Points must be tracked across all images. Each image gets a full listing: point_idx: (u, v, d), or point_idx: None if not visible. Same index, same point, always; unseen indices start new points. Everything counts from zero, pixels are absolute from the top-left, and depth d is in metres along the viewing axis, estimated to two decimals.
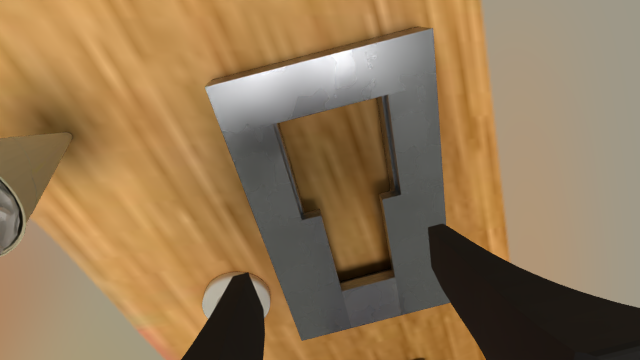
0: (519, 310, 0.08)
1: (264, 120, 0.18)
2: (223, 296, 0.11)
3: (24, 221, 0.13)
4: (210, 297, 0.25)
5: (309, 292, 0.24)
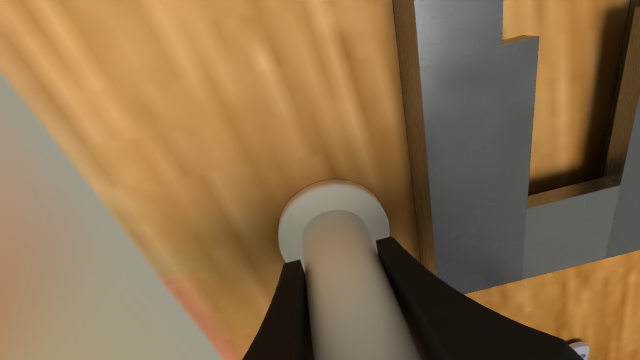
0: (434, 331, 0.08)
1: None
2: (281, 281, 0.11)
3: None
4: (294, 221, 0.14)
5: (474, 208, 0.14)
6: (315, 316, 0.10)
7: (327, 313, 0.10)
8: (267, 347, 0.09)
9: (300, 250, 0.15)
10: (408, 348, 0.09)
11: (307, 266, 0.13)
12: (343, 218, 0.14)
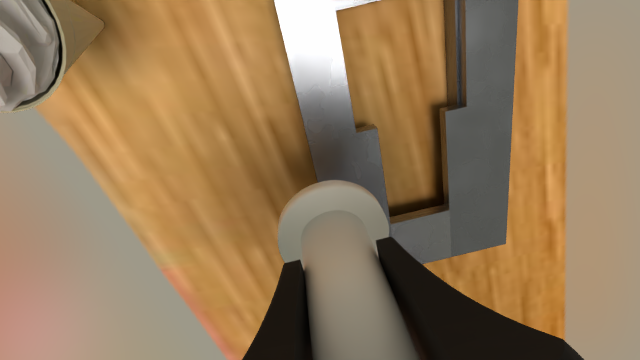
0: (434, 331, 0.08)
1: (325, 2, 0.16)
2: (281, 281, 0.11)
3: (64, 57, 0.11)
4: (294, 221, 0.14)
5: None
6: (315, 316, 0.10)
7: (327, 314, 0.10)
8: (267, 347, 0.09)
9: (299, 250, 0.15)
10: (408, 350, 0.09)
11: (307, 266, 0.13)
12: (343, 219, 0.14)
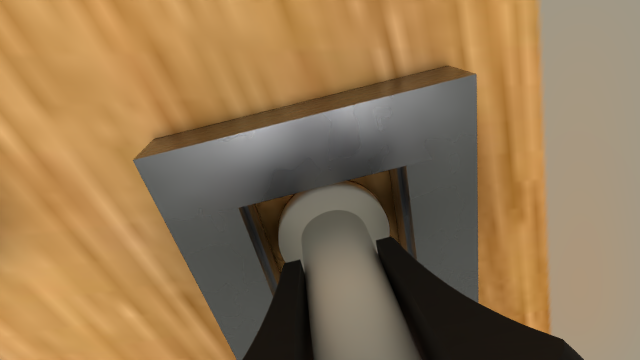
0: (434, 332, 0.08)
1: (225, 203, 0.13)
2: (281, 281, 0.11)
3: None
4: (295, 220, 0.14)
5: None
6: (316, 315, 0.10)
7: (329, 313, 0.10)
8: (267, 347, 0.09)
9: (299, 249, 0.15)
10: (410, 350, 0.09)
11: (308, 265, 0.13)
12: (344, 219, 0.14)
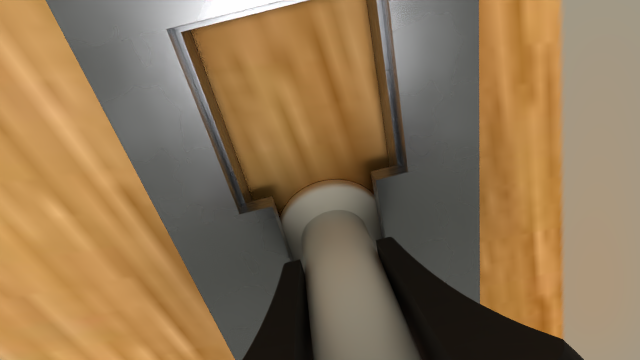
0: (434, 332, 0.08)
1: (149, 20, 0.10)
2: (281, 281, 0.11)
3: None
4: (295, 219, 0.14)
5: None
6: (316, 315, 0.10)
7: (328, 312, 0.10)
8: (267, 347, 0.09)
9: (299, 249, 0.15)
10: (410, 349, 0.09)
11: (307, 265, 0.13)
12: (344, 218, 0.14)
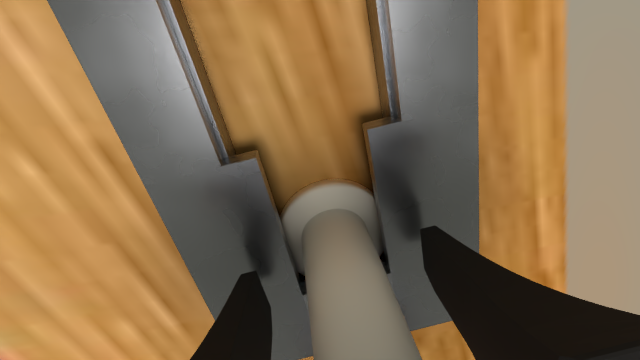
0: (506, 313, 0.08)
1: None
2: (232, 294, 0.11)
3: None
4: (295, 218, 0.15)
5: None
6: (316, 312, 0.11)
7: (328, 309, 0.10)
8: None
9: (300, 248, 0.15)
10: (409, 346, 0.09)
11: (307, 263, 0.13)
12: (344, 217, 0.14)
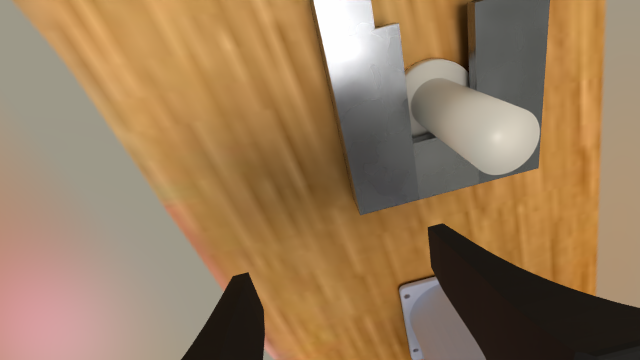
0: (519, 310, 0.08)
1: None
2: (223, 296, 0.11)
3: None
4: (409, 85, 0.20)
5: (375, 142, 0.20)
6: (452, 114, 0.16)
7: (464, 105, 0.15)
8: None
9: (409, 111, 0.21)
10: None
11: (429, 103, 0.18)
12: (447, 80, 0.19)
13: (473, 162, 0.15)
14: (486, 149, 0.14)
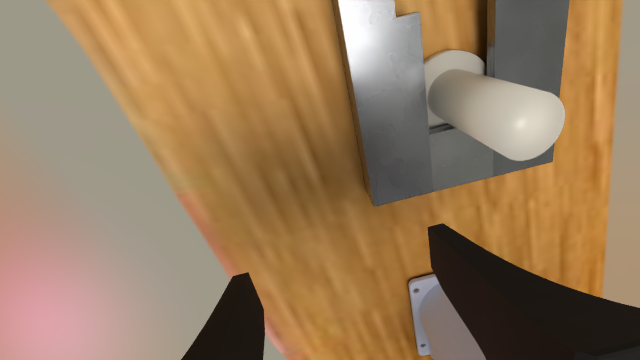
0: (519, 310, 0.08)
1: None
2: (223, 296, 0.11)
3: None
4: (426, 76, 0.20)
5: (391, 133, 0.20)
6: (473, 101, 0.16)
7: (486, 92, 0.15)
8: None
9: None
10: None
11: (448, 93, 0.18)
12: (465, 70, 0.19)
13: (497, 147, 0.14)
14: (510, 133, 0.14)
